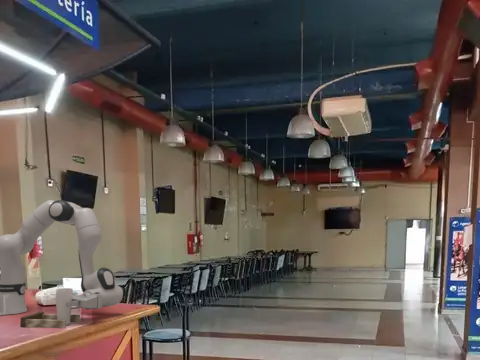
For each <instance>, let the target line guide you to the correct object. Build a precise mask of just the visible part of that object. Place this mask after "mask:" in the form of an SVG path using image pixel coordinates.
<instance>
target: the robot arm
mask: <svg viewBox="0 0 480 360" xmlns="http://www.w3.org/2000/svg"><path fill="white" fill-rule="evenodd" d="M55 222H59V223H61V224H63V225H64V224H65V225H71V226H74V227H75V231H76V234H77V239H78V260H79V267H80V273H81V279H80V280H81V282H80V289H81V291H82V294H73V298H72V302H67V303H66V306H68V307H69V306H72V307H75V308H76V307H77V308H82V309H84V310H86V311H89V310H95V309H96V310H97V309H98V310H99V309H102V308H107V307H111V306H115V305H118V304H119V303H121V301H122V300H123V297H124V290H123V289H122V287H121V286H119V284H118V283H117V281H116V280H115V276H114V273H113V271H112V269H109V268H107V267H101V268H99V269H97V270H96V271H95V267H94V266H95V265H94V259H93V257H94V254H95V252H96V249H97V247H98V246H99V244H100V243H101V240H102V229H101V227H100V223H99V220H98V218H97V216H96V214H95V212H94V210H93V209H91V208H90V207H82V206H81V205H78V204H76V203H74V202H72V201H71V202H70V201H66V200H62V199H61V200H59V199H58V200H53V199H48V200H46V201H44V202H43V203H42V204H39V206H38V207H36V208H35V209H34V210H33V211H32V212H31V213H30V214H29V215H28V216H27V217H26V218H25V219H24V220H23V221H22V222H21V226H20V228H19V229H18V230H17V232H15V233H9V234H7V233H6V234H3V235H0V316H7V315H14V314H15V315H17V314H22V313H25V312H28V307H27V304H26V297H25V294H26V285H27V284H26V266H25V265H24V264H23V261H22V257H21V256H22V255H23V256H24V255H26V254H28V253H30V252H31V251H32V250H33V249H34V247H35V243H36V242H37V240H38V239H39V237H40V236H41V235H42V234H44V233H45V232H46V231H47V230H48V228H50V227H51V226H52V225H53V224H54V223H55Z"/></svg>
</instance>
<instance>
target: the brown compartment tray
mask: <svg viewBox="0 0 480 360" xmlns="http://www.w3.org/2000/svg"><path fill="white" fill-rule="evenodd" d="M80 322H81V315H80V314H71V317H70V323H80ZM19 323H20V328H38V327H39V328H43V329H44V328H45V329H47V328H49V329H65V328H66V327H67V325H66V320H57V313H56V314H53V313H52V314H51V313H48V314H47V313H45V311H37V312H34V313H31V314H27V315H24V316H21V317H20V322H19ZM39 328H38V329H39Z"/></svg>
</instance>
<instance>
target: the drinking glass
mask: <svg viewBox="0 0 480 360" xmlns="http://www.w3.org/2000/svg"><path fill="white" fill-rule="evenodd" d="M73 293H74V292H73V288H71V287H68V288H64V287H63V288H58V289H56V290H55V306H56V307H55V308H56V314H57V320H66V326H68V325H70V324H71V322H70V317H71V315H72V307H73V306H69V307H68V306H66V303H67V302H72V298H73V295H74V294H73Z"/></svg>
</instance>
